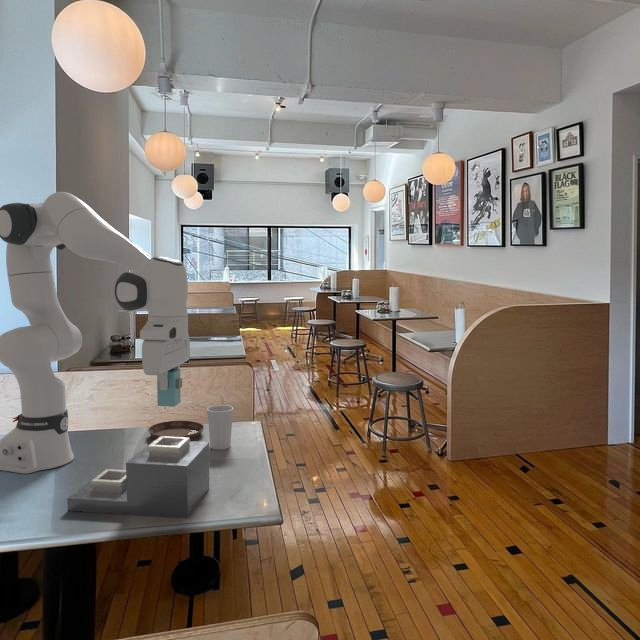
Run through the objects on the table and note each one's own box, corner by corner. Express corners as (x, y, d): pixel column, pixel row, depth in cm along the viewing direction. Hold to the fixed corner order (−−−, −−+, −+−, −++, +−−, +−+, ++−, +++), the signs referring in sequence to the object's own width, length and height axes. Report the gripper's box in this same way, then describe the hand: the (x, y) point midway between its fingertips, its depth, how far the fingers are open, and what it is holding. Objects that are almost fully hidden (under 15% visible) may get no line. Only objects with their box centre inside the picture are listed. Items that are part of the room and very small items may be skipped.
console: (67, 511, 120) (65, 449, 119) (102, 482, 136) (101, 427, 134) (187, 518, 118) (187, 454, 116) (209, 488, 133) (208, 432, 132)
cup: (238, 445, 166) (238, 407, 165) (221, 452, 159) (220, 413, 158) (219, 440, 170) (219, 403, 169) (201, 447, 163) (201, 409, 162)
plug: (157, 405, 122) (157, 363, 121) (164, 401, 126) (163, 360, 125) (177, 406, 122) (177, 363, 121) (183, 402, 126) (183, 360, 125)
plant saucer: (202, 426, 185) (202, 418, 185) (205, 443, 168) (205, 433, 168) (149, 430, 180) (149, 421, 180) (147, 447, 163) (147, 437, 163)
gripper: (171, 322, 133) (172, 377, 134) (136, 332, 112) (137, 396, 114) (196, 323, 132) (196, 378, 133) (164, 333, 112) (165, 398, 113)
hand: (168, 386), depth 123 cm, fingers closed on plug, 4 cm apart
